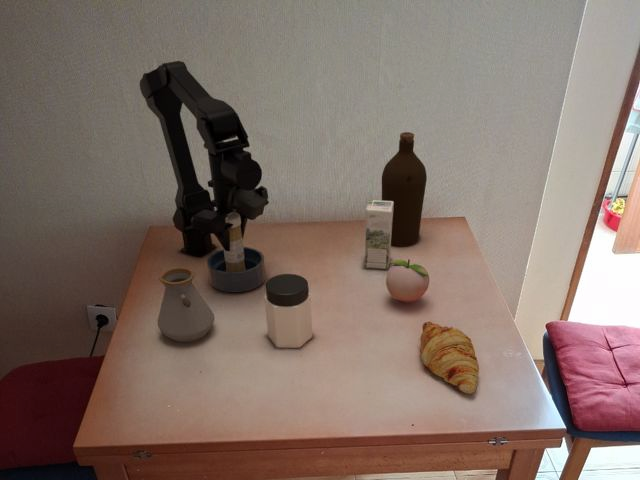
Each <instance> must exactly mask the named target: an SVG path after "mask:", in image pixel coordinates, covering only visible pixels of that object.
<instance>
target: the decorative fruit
mask: <svg viewBox="0 0 640 480" xmlns="http://www.w3.org/2000/svg"><path fill="white" fill-rule="evenodd" d="M410 262H411V260H410V259H408V260H407V261H406V260H404V259H395V260H390V262H389V265H391V267H390V268H388V271H387V273H386V278H385V284H386V289H387V291H388V293H389V294H390V295H391V297H393V298H394V299H395V300H398V301H403V302H404V303H410V302H411V303H412V302H415V301H417V300H419V299H420V298H422V297H423V296H424V295H425V294H426V292H427V291H428V289H429V286H430V275H429V272H428V271H427V269H426V268H425V267H424V266H422V265H421V264H418V263H410Z"/></svg>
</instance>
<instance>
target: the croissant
mask: <svg viewBox="0 0 640 480" xmlns="http://www.w3.org/2000/svg"><path fill="white" fill-rule="evenodd" d="M419 340H420V346H419V347H420V354H421V356H420V359H421V362H422V363H423V364H424V366H426V367H427V368H428V369H429V371H431V373H433V374H434V375H436V376H438V377H440V378H443V381H444V382H446V383H448V384H451V385H453V386H456V388H457V389H458V390H459V391H461V392H463V393H465V394H473V393H474V392H475V391H477V390H476V389H477V387H478V384H479V374H480V366H479V365H480V364H479V361H478V358H477V357H476V349H475V348H474V344H473V343H472V340H471V338H470V337H469V336H468V335H467V334H466V333H464V332H463V331H461V330H460V329H459V328H455V327H454V328H453V326H452V327H451V326H450V327H448V326H442V325H440V324H437V323H432V321H424V323H423V324H422V333H421V335H420V339H419Z"/></svg>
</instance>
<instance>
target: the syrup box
mask: <svg viewBox="0 0 640 480" xmlns="http://www.w3.org/2000/svg"><path fill="white" fill-rule="evenodd" d="M393 206H394V202H393V201H382V200H380V199H379V200H377V199H369V200H368V202H367V205H366V210H365V243H364V244H365V246H364V269H373V270H388V271H389V267H390V264H389V263H390V262H391V254H392V253H391V251H392V249H391V247H392V245H391V234H392V220H393Z"/></svg>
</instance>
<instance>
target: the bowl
mask: <svg viewBox="0 0 640 480" xmlns="http://www.w3.org/2000/svg"><path fill="white" fill-rule="evenodd" d="M243 249H244V263H245V268H246V271H241V272H226V261H225V256H224V248H222V249H220V250H215V252H213V253H212V254H210V255H209V257H208V258H207V260H206V267H207V272H208V279H209V283H210V284H211V286H212V287H213V288H215V289H216V290H219V291H222V292H227V293H243V292H247V291H251V290H253V289H256V288H258V287H260V286H261V285H262V284H263V283H265V280H266V279H267V275H266V266H265V265H266V263H265V255H264V254H263V252H261V251H260V250H258V249H256V248H253V247H249V246H243Z"/></svg>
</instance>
